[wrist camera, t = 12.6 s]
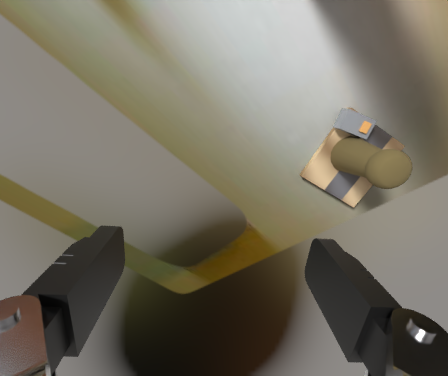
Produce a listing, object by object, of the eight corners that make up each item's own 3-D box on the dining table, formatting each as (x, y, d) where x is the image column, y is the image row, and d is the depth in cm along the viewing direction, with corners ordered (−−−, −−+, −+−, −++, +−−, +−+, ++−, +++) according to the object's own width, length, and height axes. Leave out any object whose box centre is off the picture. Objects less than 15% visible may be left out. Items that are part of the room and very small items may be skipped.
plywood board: (347, 107, 37) (351, 107, 36) (399, 144, 40) (404, 146, 39) (299, 174, 41) (302, 176, 40) (350, 204, 43) (353, 207, 42)
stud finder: (342, 108, 36) (350, 108, 34) (368, 119, 37) (378, 120, 35) (332, 127, 37) (340, 128, 35) (358, 137, 38) (367, 139, 36)
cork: (366, 133, 37) (425, 144, 27) (365, 168, 40) (418, 191, 29) (330, 139, 38) (374, 153, 27) (330, 174, 40) (371, 199, 29)
